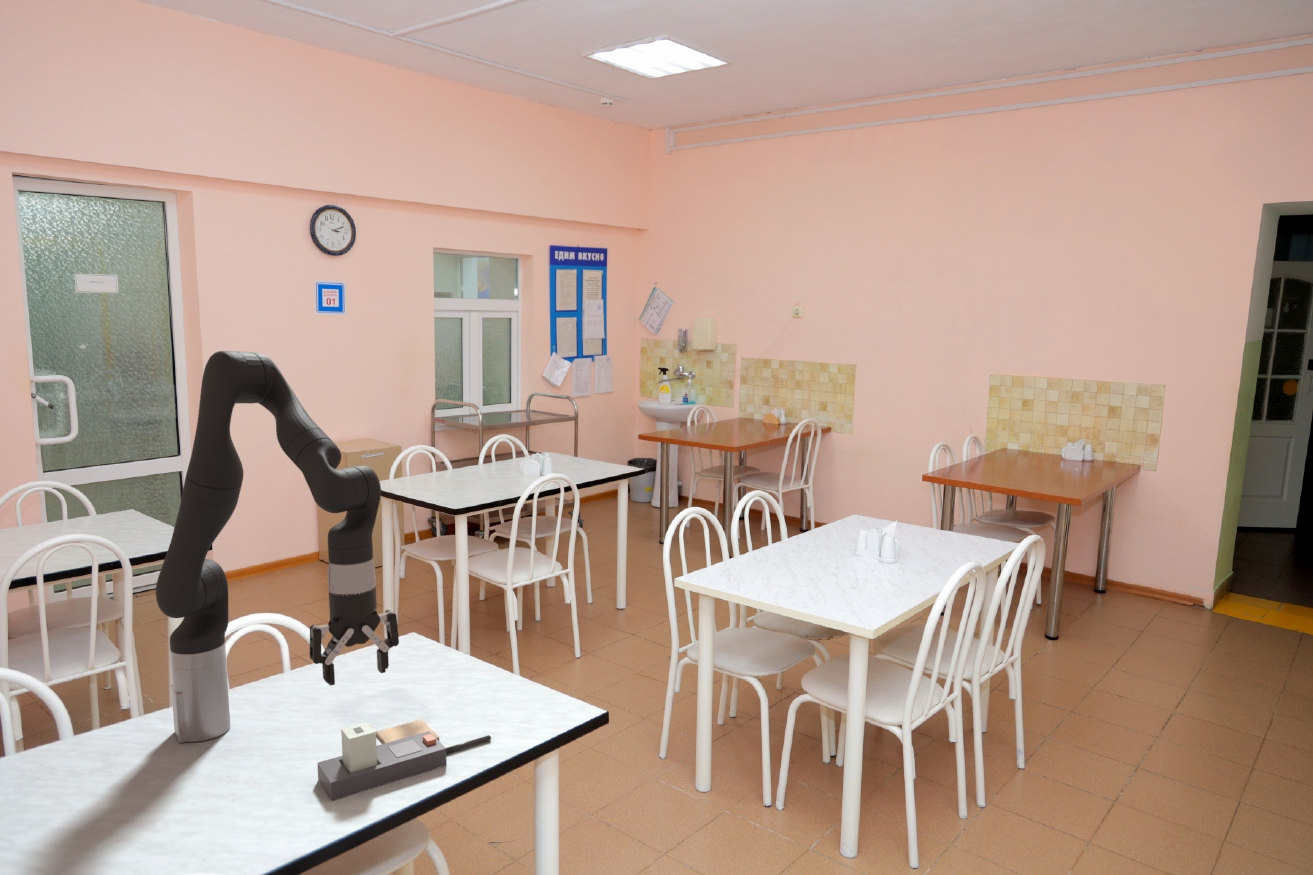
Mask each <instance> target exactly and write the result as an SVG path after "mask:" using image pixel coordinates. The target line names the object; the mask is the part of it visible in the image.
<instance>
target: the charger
mask: <svg viewBox="0 0 1313 875" xmlns="http://www.w3.org/2000/svg"><path fill="white" fill-rule="evenodd" d="M340 730H341V751H342V752H341V753H342V754H341V756H342V757H343V767H344V769H345V770H346V771H347V773H348V774H350V773H353V772H356V771H360V770H363V769H366V768H370V767H373V766H376V765H377V746H378V745H377V735H376V732H377V731H376V730H375V729H374V727H373V726H372V725H371V724H370V723H369V722H368V721H365V722H361V723H358V724H354V725H349V726H347V727H343V728H340Z"/></svg>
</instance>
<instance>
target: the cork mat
mask: <svg viewBox="0 0 1313 875" xmlns="http://www.w3.org/2000/svg"><path fill="white" fill-rule="evenodd" d="M427 731H430V732H431V733H432V734H433V735H434V736H435V737H436V738H437V739H438V740H439V741H440V736H439V735H438V734H437V733H436V732H435V731H434V730H433V729H432V728H431V727H430V726H429V725H428V724H427V723H426V721H424V720H423V719H418V720H414V721H410V722H407V723H404V724H400V725H395V726H392V727H389V728H385V729H382V730H379V731H376V737H377V738H378V739H379V740H380V741H381V743H382V744H385V743H388V742H392V741H395V740H399V739H402V738H406V737H410V736H413V735H417V734H420V733H424V732H427Z"/></svg>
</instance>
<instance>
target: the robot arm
mask: <svg viewBox="0 0 1313 875" xmlns="http://www.w3.org/2000/svg"><path fill="white" fill-rule="evenodd" d="M282 373H283V372H282V371H281V370H280V369H279V368H278V366H277V365H276V363H275V362H274V361H273V360H272V358H270V357H269V356H267V355H265V354H263V353H259V352H253V351H236V350H220V351H216V352H214V353H213V354H211V355H210V356H209V358H208V359H207V362H206V364H205V367H204V369H203V374H202V379H201V388H200V397H199V405H198V414H197V422H196V423H197V424H196V429H195V435H194V441H193V445H192V450H191V455H190V460H189V463H188V466H187V469H186V470H187V471H186V474H185V477H184V478H185V479H184V484H183V487H182V492H181V500H180V504H179V509H178V513H177V516H176V520H175V525H174V527H173V531H172V537H171V539H170V543H169V546H168V549H167V552H166V554H165V558H164V560H163V563H162V566H161V569H160V572H159V573H158V574H159V575H158V577H157V581H156V586H155V600H156V603H157V606H158V608H159V609H160V611H161V612H162V613H163V615H165V616H166V617H168V618H172V619H181V618H183V619H182V621H181V622H180V623H179V625H178V626H177V627H176V628H175V629H174V630H173V631H172V632H171V634H170V636H169V650H170V662H171V663H170V664H171V675H172V676H171V677H172V680H171V681H172V683H171V687H170V688H171V698H172V700H171V701H172V713H173V726H174V733H175V736H176V738H177V741H178V742H177V743H178V744H181V743H186V742H187V743H188V742H194V743H195V742H203V741H208V740H212V739H214V738H217V737H219V736H221V735H223V734H225V733H226V732H227V731H229V729H230V728H231V712H230V700H229V698H230V697H229V685H228V684H229V682H228V668H227V667H228V666H227V665H228V664H227V654H226V632H227V629H228V626H229V584H228V579H227V575H226V573H225V570H224V569H223V567H222V566H221V565H220V564H219V563H218V562H217V561H215V560H212V559H209V558H208V559H207V558H206V557H207V554H208V552H209V550H210V548H211V546H212V545H213V543H214V542H215V541H216V539H217V537H218V536H219V535H220V533H221V532H222V530H224V528H225V527H226V525H227V523H228V522H229V520H230V519H231V517H232V515H233V513H234V512H235V510H236V508H237V506H238V503H239V498H240V494H241V489H242V485H243V481H244V474H245V472H244V468H243V463H242V461H241V458H240V456H239V454H238V451H237V449H236V447H235V444H234V442H233V440H232V436H231V422H232V416H233V410H234V408H235V405H236V404H258V405H260V406H262V407H264V408H265V409H266V410H267V411H268V412H270V413H271V415H272V416H273V417H274V420H275V432H276V438H277V439H276V440H277V442H278V444H279V447H280V448H281V450H282V451H283V453H284V454H285V455H286V456H287V457H288V459H289V460H290V461H291V462H292V463H293V464H294V465H295V466H296V468H298V469H299V470H300V472H301V473H302V475H303V477H304V480H305V482H306V484H307V487H308V488H309V490H310V493H311V496H312V498H313V500H314V502H315V504H316V505H317V506H318V507H319V508H321V510H323V511H325V512H328V513H329V514H339V513H345V512H346V514H345V517H344V518H343V519H342V520H341V521H340V522H338V523H336V524H335V525H333V526H332V527H331V528H330V529H329V531H328V532H327V553H328V554H327V555H328V569H327V584H328V585H327V587H328V588H327V589H328V604H329V621H328V622H327V624H324V625H317V624H314V623H313V624H311V626H310V627H309V659H310V660H311V661H312V662H313V663H314V664H315V665H319V664H321V665H322V679H323V680H324V682H325V683H326V684H328V686H335V684H336V682H335V681H336V680H335V679H336V678H335V664H334V660H335V658H337V655H339V654H340V653H341V652H342V651H343V649H344V647H347V648H348V647H350V648H351V647H353V646H356V645H363V644H367V642H368V641H369V640H370V641H371V642H373V644H374V645H375V646H376V647H377V649H376V664H377V671H378V672H379V673H380V674H385V673H386V671H387V669H388V668H389V665H390V664H389V652H390V649H391V648H393V647H398V645H399V644H400V640H399V638H400V637H399V630H398V629H399V628H398V619H397V614H396V613H394V612H393V611H392V609H386V610H384V611H385V612H384V613H383V612H382V613H378V611H377V610H378V604H377V576H376V567H375V562H374V551H373V550H374V549H373V548H374V546H373V545H374V544H373V532H374V527H375V524H376V521H377V515H378V510H379V507H380V503H381V496H382V495H381V494H382V489H381V482H380V479H379V476H378V474H377V472H375V471H374V470H373V468H371V467H370V466H367V465H355V466H350V467H343V468H338V467H339V465H340V464H341V461H342V453H341V450H340V449H339V447H338V446H337V444H336V443H335V442H334V441H333V440H332V439H331V438H330V437H329V435H327V433H325V432H324V430H323V429H322V428H320V426H318V424H317V423H316V422H315V421H314V420H313V419H312V418H311V416H310V415H309V414H308V412H307V410H305V408H304V406H303V405H302V403H301V402H300V400H299V399H298V397H297V395H296V394H295V392H294V390H293V388H292V387H291V386H290V385H289V383H288V381H287V380H286V378H285V376H284V375H283V374H282ZM337 468H338V469H337ZM381 622H382V624H383V625H384V626H385V629H386V630H385V631H386V637H387V638H386V639H384V640H383V639H382V638H381V637H380V636H379V635H378V634H377V633H376V630H377V628H378V626H379V625H380V623H381ZM327 633H330V634H331V635H332V636H331V638H330V639H329V642H328V643H327V646H326V648H325V649H324V651H323V653H322V640H323V639H325V638H326V634H327Z"/></svg>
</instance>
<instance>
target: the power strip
mask: <svg viewBox="0 0 1313 875" xmlns="http://www.w3.org/2000/svg"><path fill="white" fill-rule="evenodd" d="M491 739H492V736H491V735H484V736H481V737H478V738H476V739H471V740H469V741H468V740H467V741H465V742H461V743H459V744H455V745H451V746H447V747H446V746H445V745H444V744H442V743H441V742H440V739H439V740H438V739H437V738H436V737H435V736H434V735H433V734H432V733H431V732H430V731H427V732H424V733H420V734H417V735H413V736H410V737H406V738H402V739H399V740H395V741H392V742H388V743H385V744H384V743H382V744H378V745H376V746H377V765H376V766H373V767H370V768H366V769H363V770H360V771H356V772H353V773H350V774H348V773H347V771H346V770H345V769H344V767H343V757H342V755H340V756H339V755H338V756H337V757H333V758H329V759H325V760H321V761H318V762H317V780H318V782H319V783H320V785H321V787H322V788H323V790H324V791H325V793H326V794H327V796H328V797H329V799H330V801H331V802H332V801H337V800H340V799H342V798H345V797H349V796H352V795H355V794H359V793H362V792H364V791H365V792H366V791H368V790H371V789H374V788H377V787H382V786H383V785H387V784H391V783H394V782H397V781H400V780H403V779H406V778H410V777H412V776H417V775H419V774H422V773H427V772H429V771H432V770H435V769H436V770H437V769H438V768H441V767H444V766H445V767H446V766H447V764H448V763H447V754H450V753H454V752H457V751H460V750H464V749H466V748H470V747H473V746H477V745H480V744H483V743H487V742H490V741H491Z"/></svg>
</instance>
